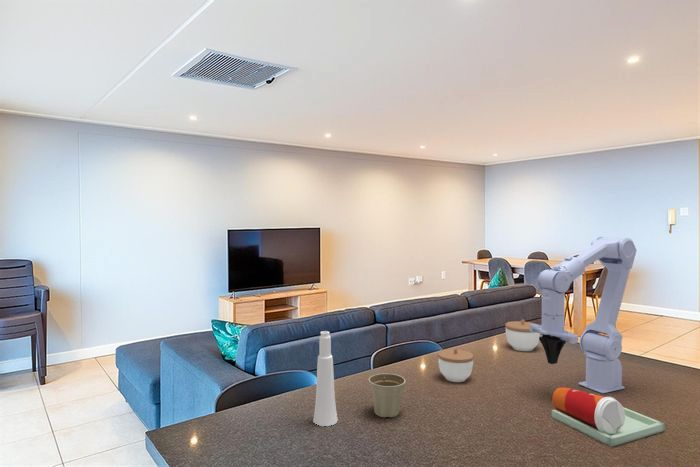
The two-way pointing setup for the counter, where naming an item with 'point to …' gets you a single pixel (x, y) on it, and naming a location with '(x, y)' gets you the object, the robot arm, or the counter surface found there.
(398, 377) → the flower pot
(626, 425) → the tray
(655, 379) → the counter surface
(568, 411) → the coffee cup
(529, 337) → the lidded bowl
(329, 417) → the cosmetic bottle
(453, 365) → the lidded jar
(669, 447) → the counter surface
